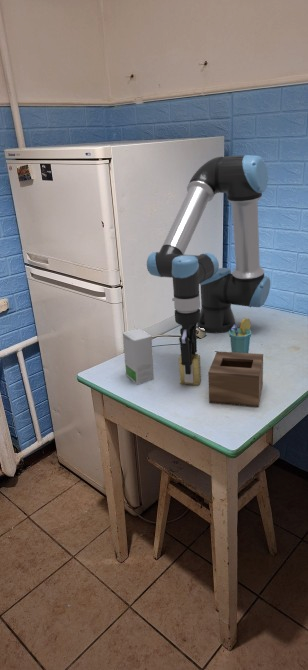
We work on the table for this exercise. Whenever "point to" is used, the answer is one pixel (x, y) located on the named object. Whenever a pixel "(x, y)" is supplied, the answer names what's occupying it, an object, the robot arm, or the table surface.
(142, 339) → the skincare box
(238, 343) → the cup
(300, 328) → the table surface
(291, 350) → the table surface
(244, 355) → the coin box
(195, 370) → the block
